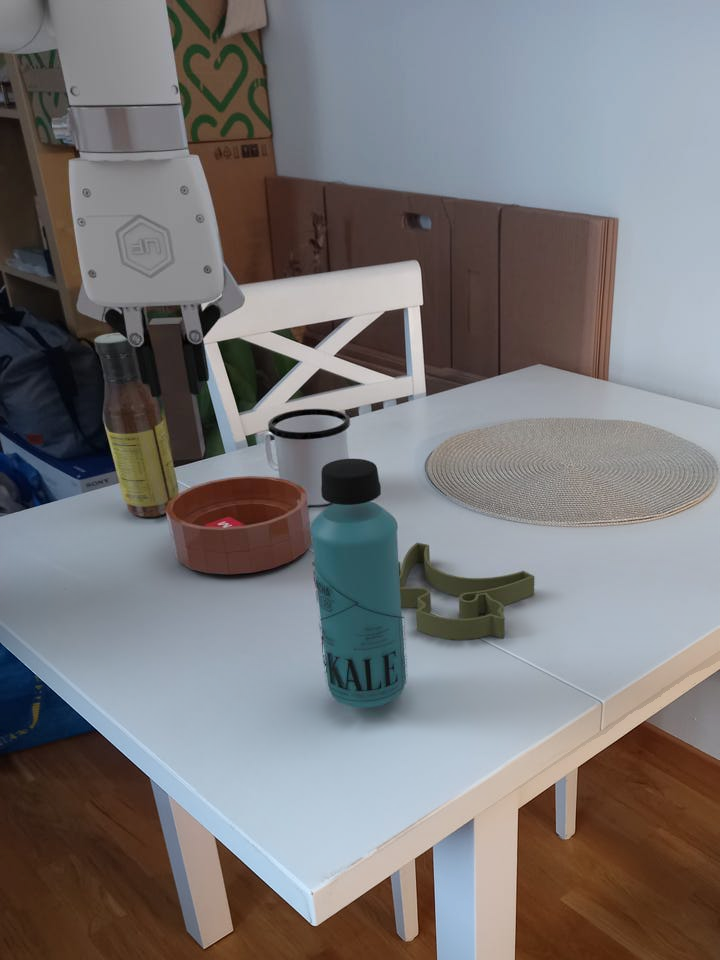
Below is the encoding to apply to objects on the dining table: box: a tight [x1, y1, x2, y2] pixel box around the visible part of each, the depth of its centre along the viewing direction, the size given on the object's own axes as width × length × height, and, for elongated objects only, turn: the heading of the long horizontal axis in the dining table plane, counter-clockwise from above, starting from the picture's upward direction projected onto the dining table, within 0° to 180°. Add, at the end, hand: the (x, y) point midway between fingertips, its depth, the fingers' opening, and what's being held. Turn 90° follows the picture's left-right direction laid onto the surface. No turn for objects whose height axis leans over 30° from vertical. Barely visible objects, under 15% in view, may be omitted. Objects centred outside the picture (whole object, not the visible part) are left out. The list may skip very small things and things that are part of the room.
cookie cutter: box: [399, 542, 535, 641], centre depth 88 cm, size 18×12×2 cm, turn 56°
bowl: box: [165, 475, 313, 575], centre depth 97 cm, size 14×14×6 cm
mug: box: [263, 408, 351, 507], centre depth 110 cm, size 12×10×9 cm
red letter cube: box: [204, 517, 245, 528], centre depth 96 cm, size 3×3×3 cm
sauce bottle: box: [93, 332, 180, 518], centre depth 103 cm, size 6×6×20 cm
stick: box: [148, 316, 206, 461], centre depth 75 cm, size 2×2×11 cm
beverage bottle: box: [310, 458, 408, 708], centre depth 69 cm, size 6×7×20 cm
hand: (177, 389), depth 75 cm, fingers closed on stick, 2 cm apart
